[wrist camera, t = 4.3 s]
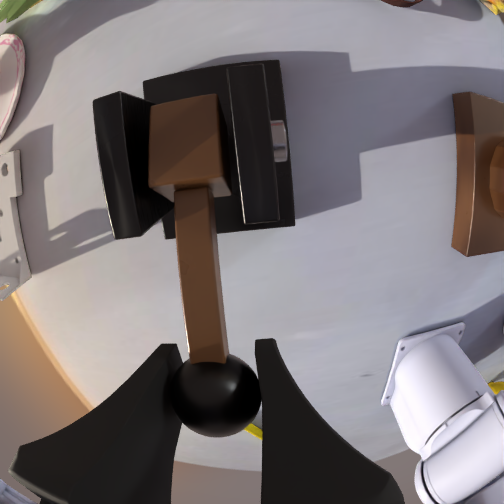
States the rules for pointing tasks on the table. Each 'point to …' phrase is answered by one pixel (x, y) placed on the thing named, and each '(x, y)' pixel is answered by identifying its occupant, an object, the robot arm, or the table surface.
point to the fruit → (496, 386)
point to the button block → (479, 174)
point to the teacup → (10, 77)
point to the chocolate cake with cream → (401, 3)
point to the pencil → (254, 430)
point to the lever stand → (239, 140)
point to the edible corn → (15, 8)
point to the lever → (200, 263)
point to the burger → (494, 5)
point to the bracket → (11, 227)
